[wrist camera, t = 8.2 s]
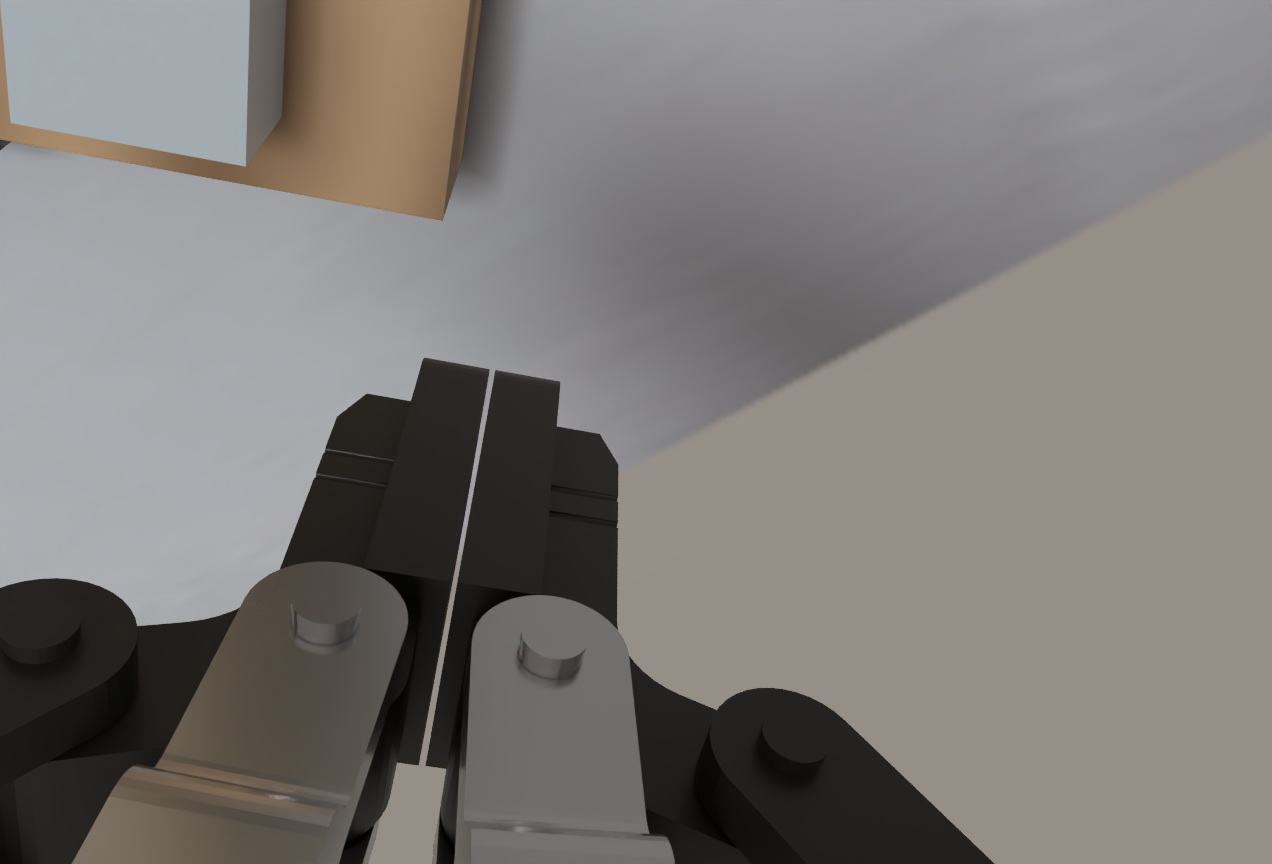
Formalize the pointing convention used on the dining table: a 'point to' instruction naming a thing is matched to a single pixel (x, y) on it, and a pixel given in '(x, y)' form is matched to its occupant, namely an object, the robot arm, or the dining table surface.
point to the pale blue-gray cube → (149, 72)
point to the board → (342, 107)
